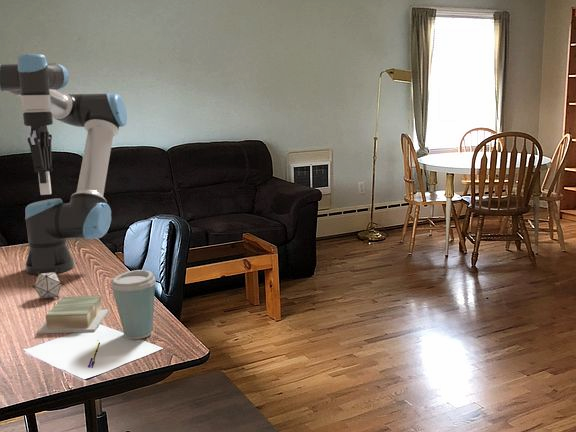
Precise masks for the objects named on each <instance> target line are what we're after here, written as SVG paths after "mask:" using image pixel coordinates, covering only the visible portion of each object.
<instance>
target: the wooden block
mask: <svg viewBox="0 0 576 432" xmlns="http://www.w3.org/2000/svg"><path fill="white" fill-rule="evenodd" d="M102 304H103V303H102V296H101V295H81V296H80V295H79V296H77V295H75V296H63V297H61V299H59V301H58V302H57V303H56V304H55V305H54V306H52V309H50V310H49V311H48V313H46V315H45V319H46V320H45V321H46V322H47V329H69V328H88V327H89V326H90V324H91V323H92V322H93V320H94V319H95V317H96V316H97V315H98V313H99V312H100V310H103V305H102Z"/></svg>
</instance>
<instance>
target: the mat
mask: <svg viewBox="0 0 576 432" xmlns="http://www.w3.org/2000/svg"><path fill="white" fill-rule="evenodd" d="M108 314H109V309H106V308H105V309H101V310H100V312H99V313H98V315H97V316H96V317H95V319H94V320H93V322H92V323H91V324H90V326H89V327H88V328H69V329H47V322H44V323H43V325H41V327H40V328H39V329H38V330H37V331H36V332H37V334H39V335H40V334H42V335H43V334H63V333H64V334H65V333H89V332H96V331H97V329H98V328H99V326H100V325H101V324H102V322H103V321H104V319H105V318H106V316H107V315H108Z"/></svg>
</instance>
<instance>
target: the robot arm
mask: <svg viewBox="0 0 576 432" xmlns="http://www.w3.org/2000/svg"><path fill="white" fill-rule="evenodd" d="M69 80H70V74H69V72H68V70H67V68H66V67H65V66H64V65H62V64H59V63H57V62H48V61H47V57H46V56H45V55H44V54H41V53H40V54H38V53H37V54H36V53H27V54H26V53H25V54H19V55H18V56H17V63H4V64H3V63H0V92H4V91H5V92H9V93H11V94H14V95H15V96H18V97H19V98H21V99H19V100H20V103H21V104H22V105H21V106H22V110H23V111H25V112H23V113H22V115H23V124H24V126H26V127H30V133H29V135H30V137H27V143H28V146H29V149H30V154H31V159H32V163H33V164H32V165H33V169H34V173H37V175H38V183H39V184H38V185H39V192H40V194H39V195H40V196H45V195H52V185H51V175H50V172H52V171H53V170H54V169H53V168H52V167H53V164H52V163H53V161H52V159H53V158H52V157H53V156H52V138H53V136H52V133H51V134H50V132H49V130H48V126H51V125H52V124H54V123H53V122H54V121H53V119H55V120H57V121H59V122H61V123H64V124H67V125H70V126H74V127H78V128H84V129H85V131H86V137H85V138H86V141H85V144H84V150H83V155H82V162H81V167H80V172H79V177H78V178H79V179H78V183H77V189H76V192H74V193H72V194H71V196H70V201H69V202H68V203H64V202H63V200H62V199H63V198H59V197H58V198H49V199H44V200H39V201H35V202H32V203H31V202H30V203H29V204H27V206H26V207H25V210H24V211H25V217H24V219H25V223H26V224H25V225H26V230H27V231H26V232H27V241H28V252H27V258H26V261H25V271H26V273H27V274H29V275H34V276H38V275H39V274H38V273H37V272H39V273H40V274H41V273H51V272H55V270H57V272H56V274H60V273H63V272H67V271H69V270H72V269H73V268H74V267H75V262H74V261H75V260H74V258H73V255H72V254H71V252H70V249H69V248H68V247H69V246H68V245H67V240H68V239H69V240H70V239H73V240H74V239H75V240H76V239H78V240H81V239H84V240H93V239H101V238H102V237H104V236H105V235H106V234H107V233H108V232H109V228H110V226H111V223H112V209H111V207H110V205H109V204H108V201H107V199H106V198H105V197H104V193H105V188H106V182H107V175H108V170H109V165H110V164H109V162H110V157H111V151H112V146H113V145H112V144H113V138H114V137H115V136H117V135H118V133H119V131H120V129H119V128H122V127H124V126H126V124H127V122H128V121H127V120H128V119H127V118H128V117H127V110H126V105H125V102H124V100H123V98H122V96H121V95H120V94H118V93H111V92H106V93H75V94H74V93H71V94H70V93H67V92H64V91H59V90H61V89H64V88H65V87H66V86H67V85H68V83H69Z"/></svg>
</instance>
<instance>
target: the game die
mask: <svg viewBox="0 0 576 432" xmlns="http://www.w3.org/2000/svg"><path fill="white" fill-rule="evenodd" d="M56 272H57V270H55V272H51V273H41V274H40V273H39V272H37V273H38V274H39V275H37V278H36V280H35V283H34V284H32V285H31V287H32V288H33V289H35V291H36V292H37V294H38V296H39V299H38V300H39V302H40V301H42V299H48V298H55V297H56V299H59V300H60V296H59V295H60V294H59V293H60V292H61V291H60V290H61V287H62V286H64V285H65V283H64V282H63V281H61V280H60V278H59V276H58V273H56Z"/></svg>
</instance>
